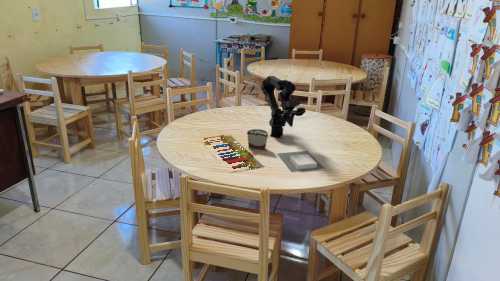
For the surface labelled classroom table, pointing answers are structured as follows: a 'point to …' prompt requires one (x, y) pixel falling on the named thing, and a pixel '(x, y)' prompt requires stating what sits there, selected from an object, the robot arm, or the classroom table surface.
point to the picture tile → (303, 161)
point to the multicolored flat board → (244, 154)
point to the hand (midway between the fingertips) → (291, 126)
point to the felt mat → (286, 159)
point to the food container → (257, 139)
